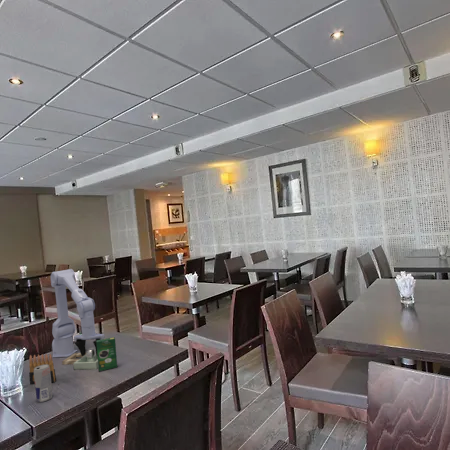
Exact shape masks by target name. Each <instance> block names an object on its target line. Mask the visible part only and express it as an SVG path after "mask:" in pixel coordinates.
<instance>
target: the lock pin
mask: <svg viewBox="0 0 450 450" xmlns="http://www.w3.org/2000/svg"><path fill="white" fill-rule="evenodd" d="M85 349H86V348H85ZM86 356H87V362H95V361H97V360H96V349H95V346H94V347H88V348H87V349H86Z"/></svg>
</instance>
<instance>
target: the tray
mask: <svg viewBox="0 0 450 450" xmlns="http://www.w3.org/2000/svg"><path fill="white" fill-rule="evenodd" d="M78 359H79V360H78V361H76V362H75V363H73V364H72V365H73V370H74V371H84V370H85V371H86V370H88V371H89V370H97V369H99V368H98V356H97V355H96V360H97V361H95V362H87V356H86V355H85V356H83V357H81V358H78Z"/></svg>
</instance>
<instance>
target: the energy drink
mask: <svg viewBox="0 0 450 450" xmlns="http://www.w3.org/2000/svg"><path fill="white" fill-rule="evenodd" d="M34 380H35V384H34V387H35V396H36V402H37V403H45V402H48V401H49V400H51V399H52V398H53V396H54V395H53V394H54V393H53V386H52V384H53V383H51V374H50V367H49V365H48V364H44V365H40V366H37V367H35V368H34Z"/></svg>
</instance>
